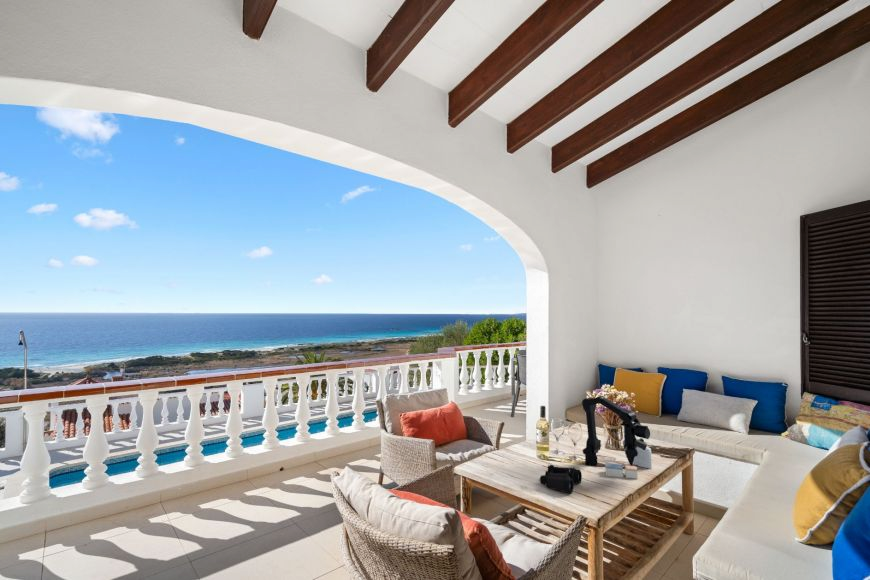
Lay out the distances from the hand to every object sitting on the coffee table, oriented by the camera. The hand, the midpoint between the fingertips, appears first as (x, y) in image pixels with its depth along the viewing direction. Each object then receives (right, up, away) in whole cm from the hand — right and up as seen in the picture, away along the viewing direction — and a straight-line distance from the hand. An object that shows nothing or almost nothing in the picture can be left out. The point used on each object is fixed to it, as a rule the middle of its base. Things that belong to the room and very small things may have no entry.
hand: (630, 462), depth 230 cm
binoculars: (-43, -8, -10) cm, 45 cm away
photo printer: (+14, -8, +14) cm, 22 cm away
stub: (0, -8, 0) cm, 8 cm away
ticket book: (-8, -8, +3) cm, 11 cm away
